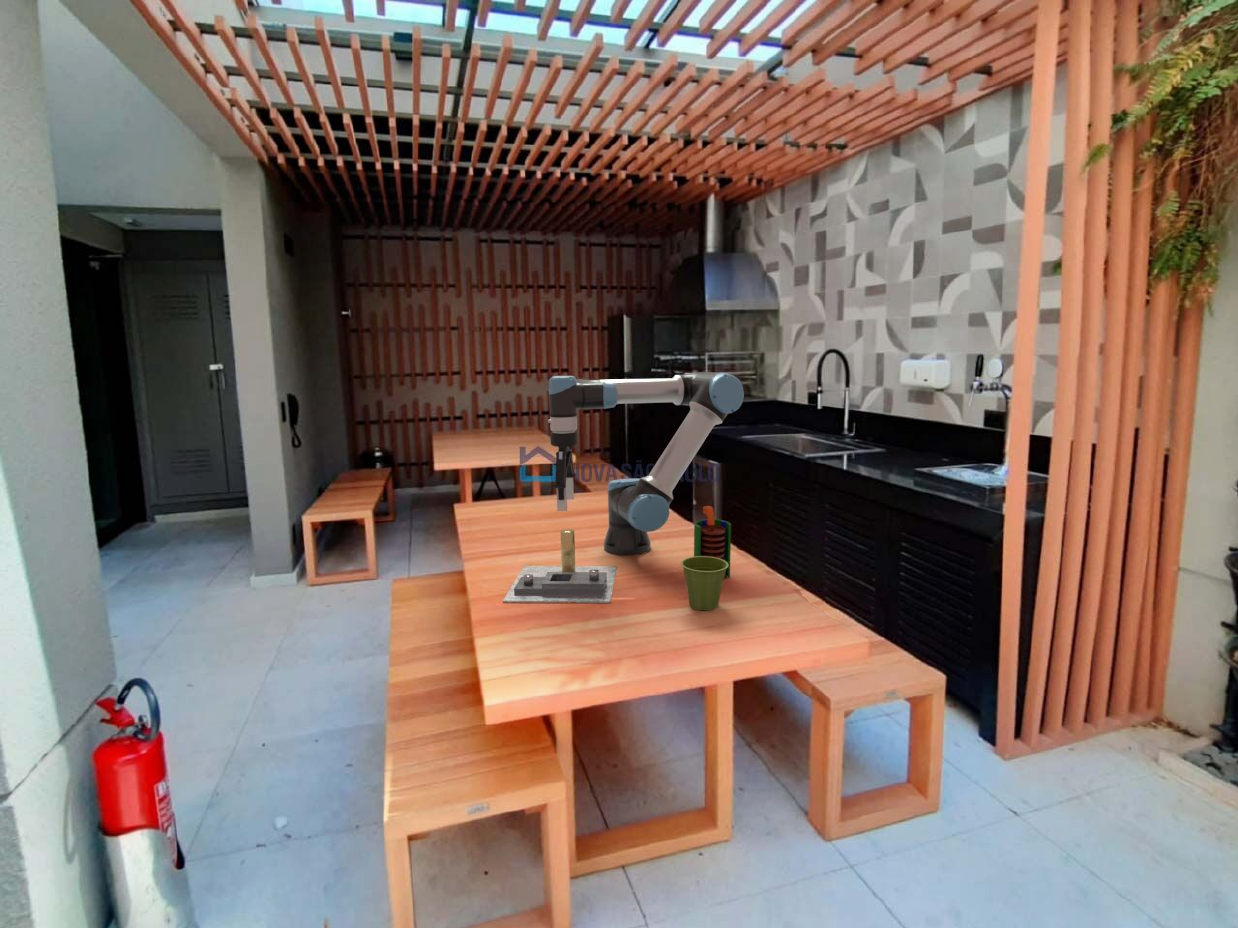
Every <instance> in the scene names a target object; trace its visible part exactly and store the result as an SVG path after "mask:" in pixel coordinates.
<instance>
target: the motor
mask: <svg viewBox="0 0 1238 928" xmlns="http://www.w3.org/2000/svg"><path fill="white" fill-rule="evenodd" d="M714 511H715V510H714V508H713V506H711V505H705V506H702V513H703V514H704V515H705V516H706V519H705V518H704V519H700V520H696V521H695V522H694V524H693V525H694V526H693V527H694V529H693V531H694V532H693V557H695V556H709V557H715V558H720V559H723V560H725V561H726V562H727V563H728V564H729V566H728V568H727V569H726V572H725V576H724V578H723V581H724V580H725V579H726V578H727V579H730V578H731V546H732V544H731V543H732V539H731V538H732V524H731V522H729V521H726V520H722V519H718V518H717V519H716V518H715V512H714Z"/></svg>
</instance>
